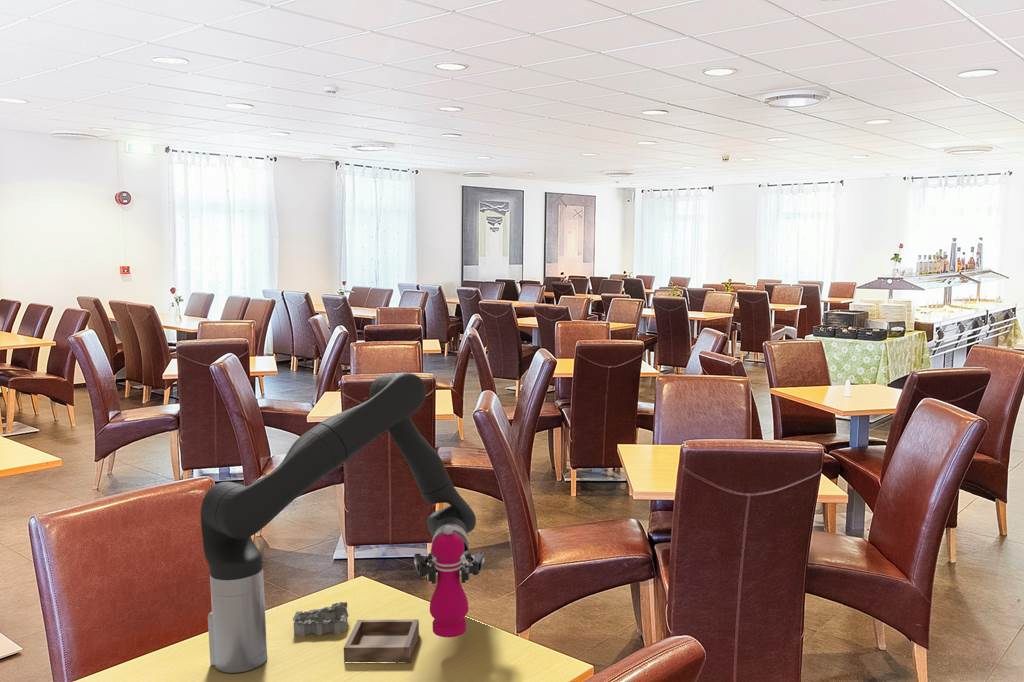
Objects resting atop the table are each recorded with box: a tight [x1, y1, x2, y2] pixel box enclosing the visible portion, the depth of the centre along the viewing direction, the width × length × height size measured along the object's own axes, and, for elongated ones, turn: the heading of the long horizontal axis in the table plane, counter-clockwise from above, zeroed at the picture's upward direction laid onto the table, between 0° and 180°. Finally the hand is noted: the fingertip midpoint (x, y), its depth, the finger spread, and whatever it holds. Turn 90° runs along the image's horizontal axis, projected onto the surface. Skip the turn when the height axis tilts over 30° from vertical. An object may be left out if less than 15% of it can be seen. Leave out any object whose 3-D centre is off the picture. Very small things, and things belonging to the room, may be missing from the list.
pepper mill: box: [429, 525, 470, 638], centre depth 156 cm, size 7×7×20 cm
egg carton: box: [292, 601, 349, 637], centre depth 169 cm, size 11×8×4 cm
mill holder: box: [343, 618, 420, 664], centre depth 160 cm, size 12×12×3 cm
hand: (448, 578), depth 154 cm, fingers closed on pepper mill, 4 cm apart
